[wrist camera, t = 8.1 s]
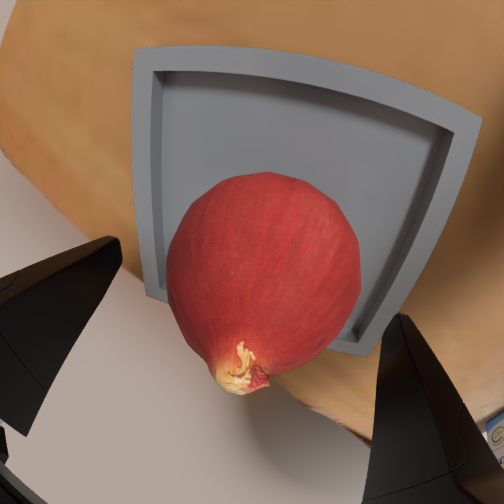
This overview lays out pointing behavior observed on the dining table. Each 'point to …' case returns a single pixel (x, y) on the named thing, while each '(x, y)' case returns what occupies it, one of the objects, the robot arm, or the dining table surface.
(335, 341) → the dish
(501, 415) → the medicine box
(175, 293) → the onion
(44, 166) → the dining table surface
